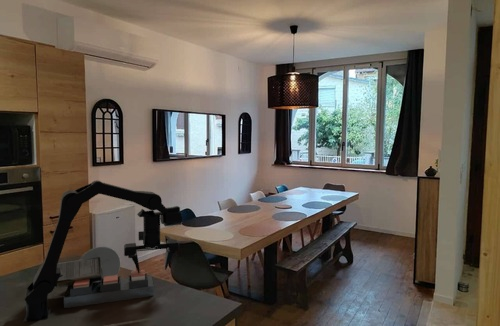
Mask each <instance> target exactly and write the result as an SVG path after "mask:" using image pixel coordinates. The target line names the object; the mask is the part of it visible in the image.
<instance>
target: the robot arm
mask: <svg viewBox="0 0 500 326" xmlns="http://www.w3.org/2000/svg"><path fill="white" fill-rule="evenodd" d="M98 195H104V196H108V197H111V198H115V199H118V200H119V199H120V200H123V201H128V202H131V203H135V204H137V205H139V206H141V207H142V208H141V210H140V211H139V212H138V213H137V216H138V217H139V218H143V225H142V226H143V230H142V231H138V233H137V235H138V241H142V244H143V245H142V244H141V245H137V243H136V242H132V243H125V244H124V246H123V247H124V248H123V249H124V250H123V251H124V254H123V255H124V257H128V259H131V260H132V262H133V263H134V266H135V268H136V271H138V273H140V270H141V269H140V263H139V257H138V252H143V251H144V252H145V251H154V250H155V251H156V250H157V251H158V250H163V249H164V250H165V257H164V258H165V259H164V270H165V271H166V270H167V268H168V267H169V263H170V262H171V259H172V256H173V255H174V254H177V252H179V251H180V250H181V249H180V242H179V241H178V239H176V238H175V239H166V242H165V243H161V225H163V226H164V227H172V226H173V227H174V226H179V225H182V223H183V216H182V212H181V207H180V206H179V205H178V206H177V205H176V206H171V207H166V206H165V205H164V204H163V203H162V202H163V201H162V200H163V199H162V197H161V195H159V194H157V193H155V192H153V191H145V190H134V189H130V188H129V189H128V188H126V187H121V186H118V185H113V184H110V183H106V182H102V181H101V180H94V181H92V182H90V183H88V184H86V185H83V186H80V187H79V188H76V189H75V190H73V189H72V190H71V189H70V190H66V191H65V192H63V194H62V195H61V198H60V205H59V212H58V213H59V214H58V219H57V223H56V224H55V225H56V226H55V228H54V231H53V234H52V237H51V240H50V243H49V246H48V249H47V251H46V254H45V257H44V260H43V262H42V263H41V264H40V266H39V267H38V269H37V272H36V273H35V275H34V276H33V281H32V282H31V283H30V284H29V285H27V287H26V288H25V295H24V301H25V313H26V314H25V317H24V319H23V321H22V323H28V322H29V323H30V322H37V321H42V320H48V319H49V316H50V314H51V312H52V309H51V308H49V300H48V299H49V298H48V296H49V294H50V293H52V292H53V291H54V290H55V289H54V286H55V287H57V281H58V279H59V277H60V275H61V270H60V268H57V264H58V263H59V260H60V257H61V254H62V251H63V249H64V246H65V242H66V239H67V236H68V233H69V231H70V227H71V225H72V222H73V221H74V219H75V217H76V216H77V214H78V213H79V211H80V209H81V207H82V205H83V204H85V203H86V202H88V201H90V200H91V199H93V198H94V197H96V196H98ZM143 208H145V209H147V210H145V209H143Z"/></svg>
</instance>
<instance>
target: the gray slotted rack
mask: <svg viewBox="0 0 500 326" xmlns="http://www.w3.org/2000/svg"><path fill="white" fill-rule="evenodd" d="M103 280H104V278H102V279H101V282H94V283H93V280H90V287H82V288H74V287H73V285H74V282H72V285H69V286H68V287H66V291H65V293H64V296H63V308H64V309H70V308H77V307H84V306H90V305H92V306H93V305H98V304H104V303H105V304H106V303H112V302H120V301H125V300H132V299H141V298H146V297H154V295H155V292H154V291H155V286H154V281H153V276H152V275H148V273H147V272H145V280H138V281H131V274H128V278H127V277H126V278H121V276H118V283H114V284H106V285H103Z"/></svg>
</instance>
